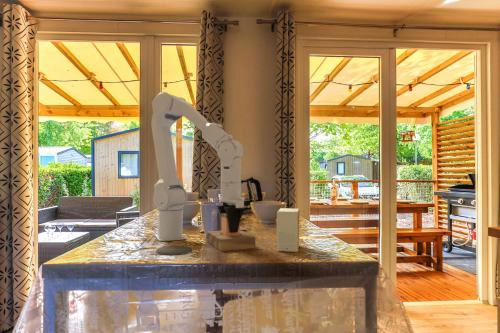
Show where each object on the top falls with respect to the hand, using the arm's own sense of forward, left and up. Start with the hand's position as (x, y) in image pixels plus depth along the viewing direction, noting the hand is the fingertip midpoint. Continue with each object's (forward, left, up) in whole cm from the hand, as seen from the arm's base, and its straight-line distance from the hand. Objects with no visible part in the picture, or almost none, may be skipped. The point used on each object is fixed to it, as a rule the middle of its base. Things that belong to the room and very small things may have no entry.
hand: (230, 230), depth 95 cm
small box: (+10, +13, -4) cm, 17 cm away
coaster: (+1, -16, -4) cm, 16 cm away
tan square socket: (0, 0, -4) cm, 4 cm away
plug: (0, 0, -4) cm, 4 cm away
